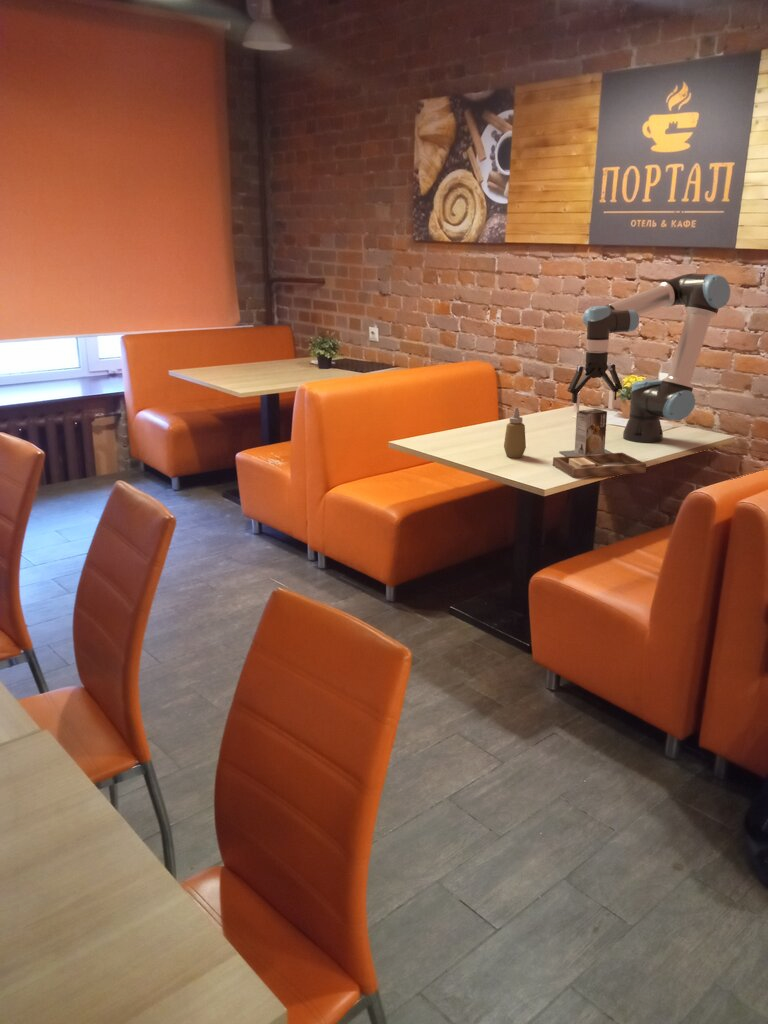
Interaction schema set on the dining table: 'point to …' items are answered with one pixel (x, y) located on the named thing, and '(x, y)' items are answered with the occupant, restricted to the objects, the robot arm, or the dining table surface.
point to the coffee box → (590, 432)
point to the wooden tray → (600, 470)
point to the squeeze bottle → (515, 436)
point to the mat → (571, 453)
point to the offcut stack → (580, 463)
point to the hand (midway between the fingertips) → (593, 410)
